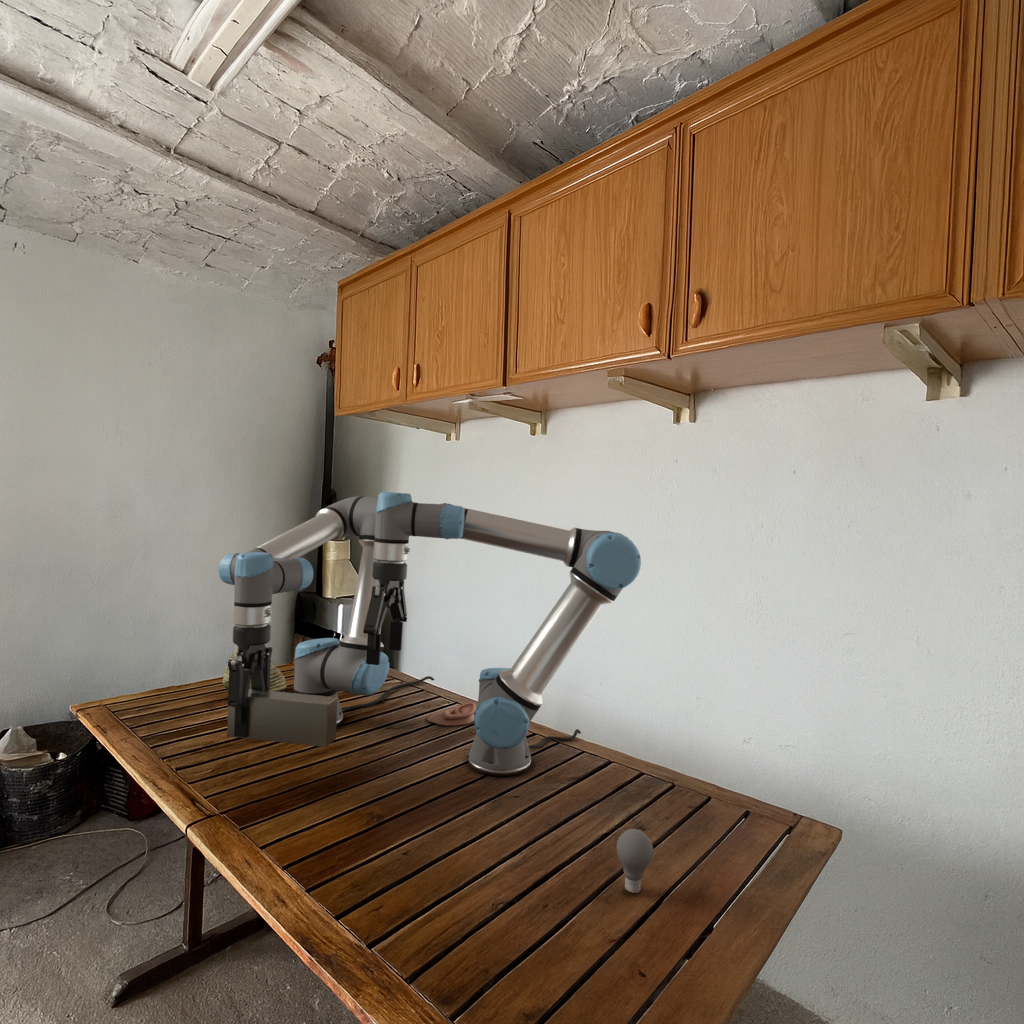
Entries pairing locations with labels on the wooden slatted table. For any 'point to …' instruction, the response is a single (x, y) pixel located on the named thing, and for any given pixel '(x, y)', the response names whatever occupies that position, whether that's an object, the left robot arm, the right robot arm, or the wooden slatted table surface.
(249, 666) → the left robot arm
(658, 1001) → the wooden slatted table surface
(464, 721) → the anatomical model
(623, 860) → the light bulb
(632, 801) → the wooden slatted table surface
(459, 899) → the wooden slatted table surface
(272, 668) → the fossil
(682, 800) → the wooden slatted table surface
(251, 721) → the bar
